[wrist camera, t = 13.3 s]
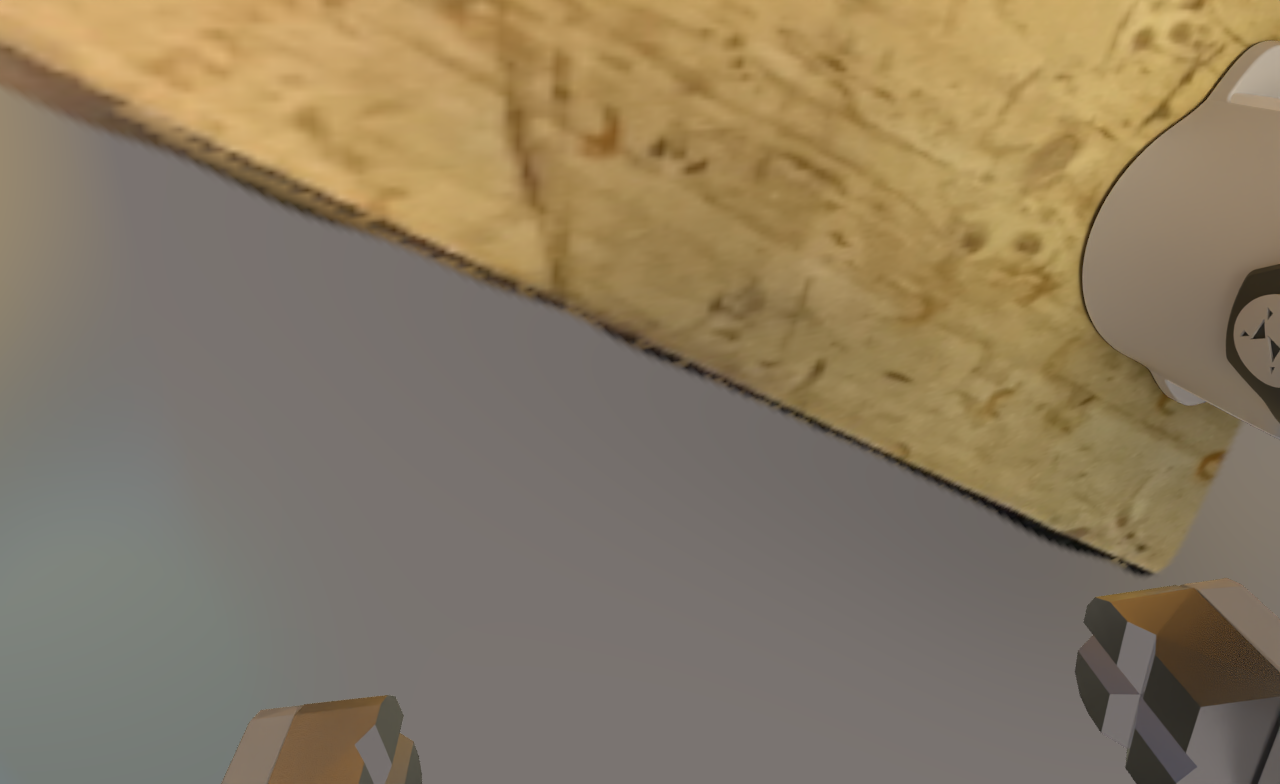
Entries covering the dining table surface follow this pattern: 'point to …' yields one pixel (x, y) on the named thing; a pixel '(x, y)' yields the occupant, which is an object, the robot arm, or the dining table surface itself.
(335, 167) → the dining table surface
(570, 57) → the dining table surface
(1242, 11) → the dining table surface
